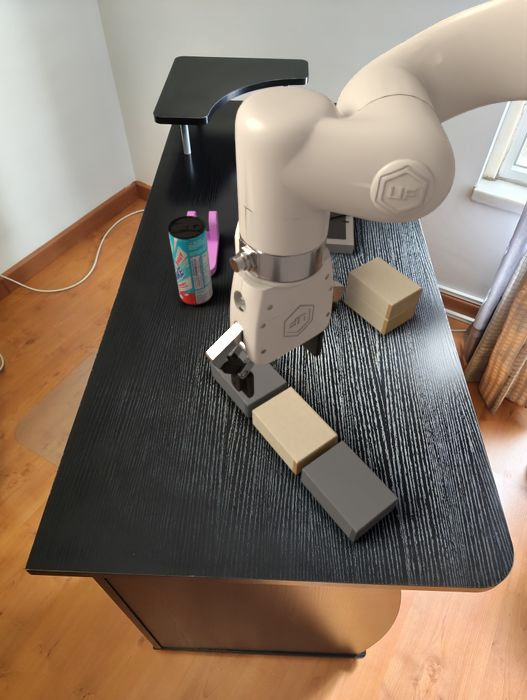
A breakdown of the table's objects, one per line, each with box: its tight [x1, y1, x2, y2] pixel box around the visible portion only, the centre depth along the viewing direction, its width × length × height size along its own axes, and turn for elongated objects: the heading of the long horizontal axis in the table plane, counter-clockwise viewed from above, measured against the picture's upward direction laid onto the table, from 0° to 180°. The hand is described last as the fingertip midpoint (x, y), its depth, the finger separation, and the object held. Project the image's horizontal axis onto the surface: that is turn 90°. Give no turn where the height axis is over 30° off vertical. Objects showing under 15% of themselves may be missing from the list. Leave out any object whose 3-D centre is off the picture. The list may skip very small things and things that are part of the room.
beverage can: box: [167, 215, 213, 307], centre depth 81 cm, size 6×6×15 cm
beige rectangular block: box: [343, 287, 418, 336], centre depth 83 cm, size 10×7×4 cm
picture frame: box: [326, 211, 355, 255], centre depth 100 cm, size 16×3×21 cm
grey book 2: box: [300, 440, 399, 543], centre depth 61 cm, size 10×7×4 cm
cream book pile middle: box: [345, 256, 423, 320], centre depth 81 cm, size 10×7×4 cm
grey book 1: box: [209, 351, 288, 420], centre depth 72 cm, size 10×7×4 cm
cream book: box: [251, 386, 339, 476], centre depth 67 cm, size 10×7×4 cm
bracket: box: [186, 210, 220, 277], centre depth 92 cm, size 13×6×7 cm, turn 0°
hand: (277, 368), depth 55 cm, fingers open, 9 cm apart
